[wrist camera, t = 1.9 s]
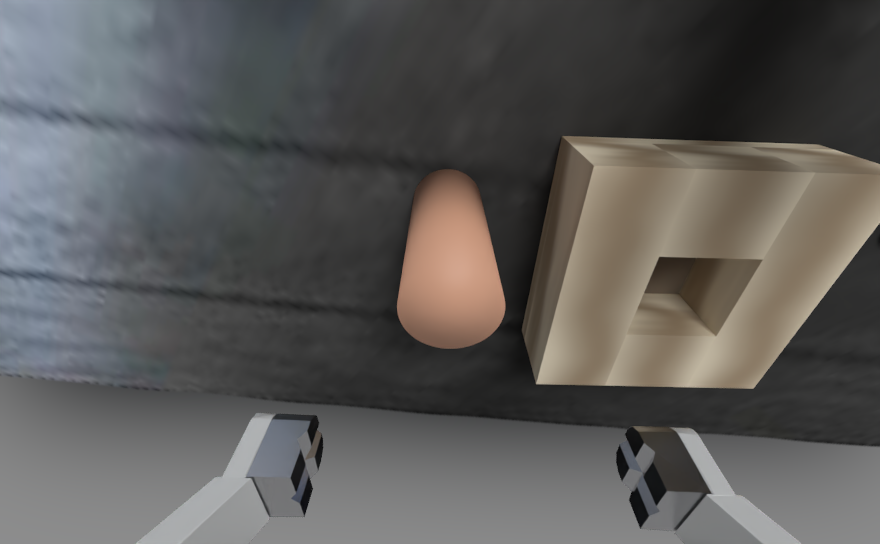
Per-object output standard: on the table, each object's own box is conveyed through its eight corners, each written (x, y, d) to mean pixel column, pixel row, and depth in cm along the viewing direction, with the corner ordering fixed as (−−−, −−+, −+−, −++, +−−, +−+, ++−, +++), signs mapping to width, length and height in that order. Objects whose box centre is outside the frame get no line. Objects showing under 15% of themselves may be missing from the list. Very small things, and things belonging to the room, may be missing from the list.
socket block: (521, 330, 28) (536, 384, 24) (561, 136, 20) (594, 165, 16) (706, 334, 28) (753, 388, 24) (817, 144, 20) (915, 175, 16)
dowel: (413, 231, 23) (398, 347, 15) (413, 167, 21) (395, 262, 13) (477, 233, 23) (498, 349, 15) (483, 170, 21) (512, 265, 13)
